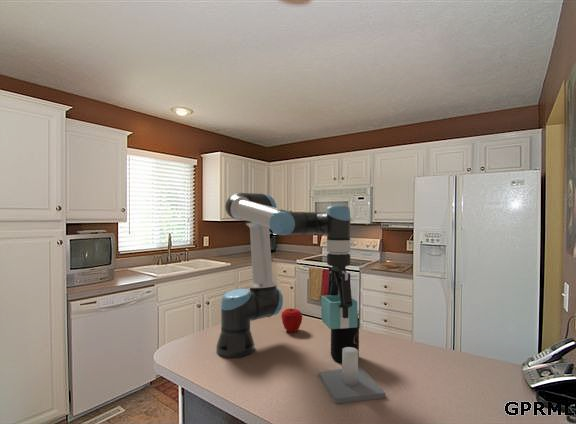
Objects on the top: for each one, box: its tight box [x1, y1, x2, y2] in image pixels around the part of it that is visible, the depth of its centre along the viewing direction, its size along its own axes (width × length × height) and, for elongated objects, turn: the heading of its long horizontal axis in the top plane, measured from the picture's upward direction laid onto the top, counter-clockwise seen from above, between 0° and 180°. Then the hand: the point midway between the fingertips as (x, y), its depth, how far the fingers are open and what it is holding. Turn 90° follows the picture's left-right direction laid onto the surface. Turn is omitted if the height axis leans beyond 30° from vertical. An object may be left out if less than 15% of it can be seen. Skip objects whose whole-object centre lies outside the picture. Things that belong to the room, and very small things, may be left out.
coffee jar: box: [330, 310, 360, 364], centre depth 120 cm, size 11×11×18 cm
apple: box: [281, 308, 303, 333], centre depth 147 cm, size 10×10×11 cm
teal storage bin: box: [320, 294, 358, 330], centre depth 100 cm, size 9×9×8 cm
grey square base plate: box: [318, 347, 386, 404], centre depth 100 cm, size 16×16×12 cm
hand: (338, 322), depth 100 cm, fingers closed on teal storage bin, 9 cm apart
